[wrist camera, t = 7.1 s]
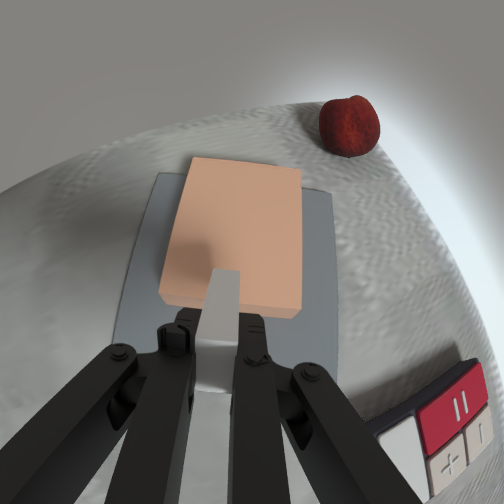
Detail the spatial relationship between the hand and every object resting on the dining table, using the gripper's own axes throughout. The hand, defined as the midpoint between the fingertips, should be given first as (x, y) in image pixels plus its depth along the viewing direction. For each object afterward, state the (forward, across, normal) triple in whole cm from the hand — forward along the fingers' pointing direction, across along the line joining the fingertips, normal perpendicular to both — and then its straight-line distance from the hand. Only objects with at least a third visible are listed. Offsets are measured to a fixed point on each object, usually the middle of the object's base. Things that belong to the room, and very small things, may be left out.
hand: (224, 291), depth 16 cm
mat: (+8, 0, -2) cm, 8 cm away
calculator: (-3, +20, -14) cm, 24 cm away
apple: (+21, +12, +10) cm, 26 cm away
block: (+4, 0, -3) cm, 5 cm away
